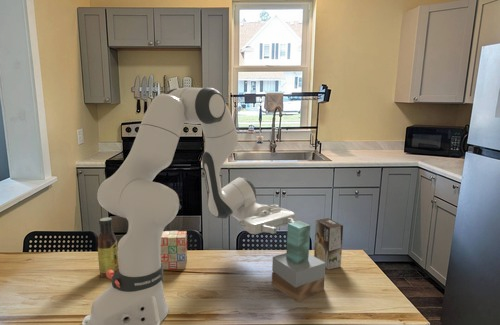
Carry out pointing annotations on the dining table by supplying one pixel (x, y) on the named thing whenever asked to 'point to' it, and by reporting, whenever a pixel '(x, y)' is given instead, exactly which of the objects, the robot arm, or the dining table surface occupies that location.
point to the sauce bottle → (107, 247)
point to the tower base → (300, 291)
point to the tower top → (298, 270)
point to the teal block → (298, 242)
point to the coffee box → (328, 242)
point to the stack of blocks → (174, 249)
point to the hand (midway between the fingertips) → (285, 227)
